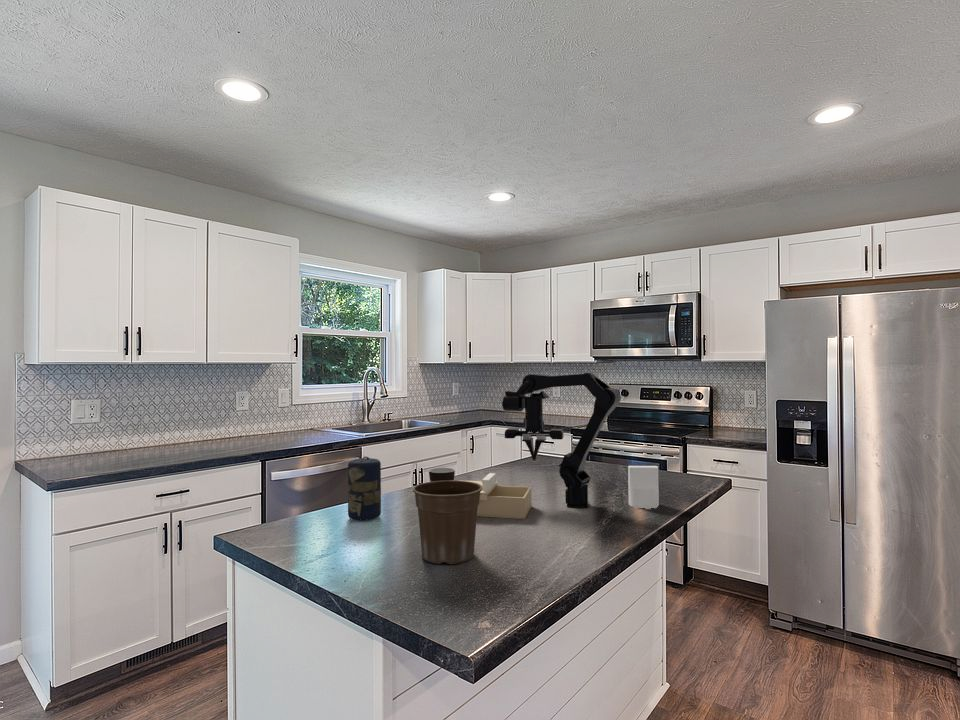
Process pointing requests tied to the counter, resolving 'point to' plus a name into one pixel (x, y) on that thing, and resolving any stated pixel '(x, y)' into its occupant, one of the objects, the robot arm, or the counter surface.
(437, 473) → the coffee mug
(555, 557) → the counter surface
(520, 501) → the mailer box
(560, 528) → the counter surface
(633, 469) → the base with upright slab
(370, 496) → the canister
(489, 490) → the lid
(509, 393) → the robot arm
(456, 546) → the plant pot
